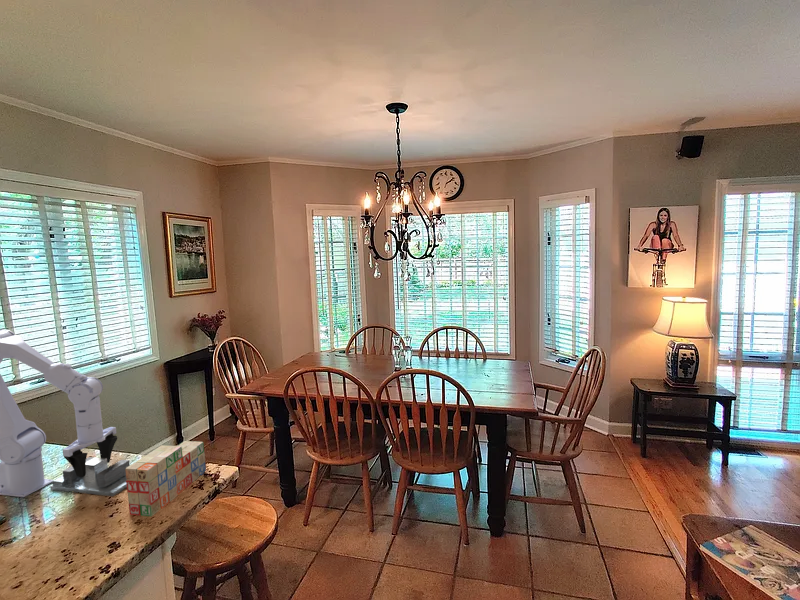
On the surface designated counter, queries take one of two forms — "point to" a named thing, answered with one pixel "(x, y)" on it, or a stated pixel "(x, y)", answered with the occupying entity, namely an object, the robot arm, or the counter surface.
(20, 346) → the robot arm
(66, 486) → the base
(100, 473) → the block
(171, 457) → the stack of blocks
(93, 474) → the aluminium block
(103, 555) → the counter surface
